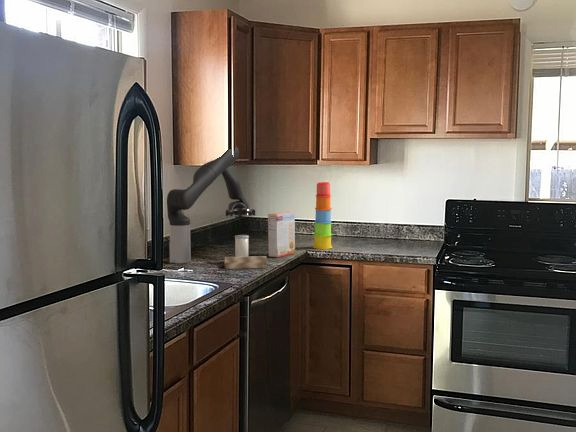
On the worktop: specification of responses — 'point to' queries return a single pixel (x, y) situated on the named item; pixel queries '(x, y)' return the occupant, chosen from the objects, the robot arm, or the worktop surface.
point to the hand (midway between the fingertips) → (240, 214)
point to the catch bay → (246, 262)
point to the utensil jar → (241, 245)
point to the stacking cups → (323, 217)
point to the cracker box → (281, 234)
